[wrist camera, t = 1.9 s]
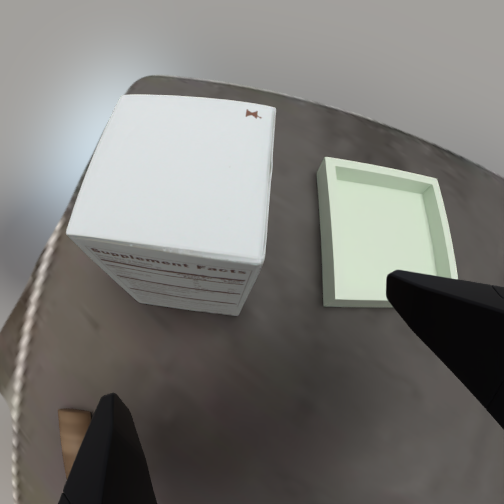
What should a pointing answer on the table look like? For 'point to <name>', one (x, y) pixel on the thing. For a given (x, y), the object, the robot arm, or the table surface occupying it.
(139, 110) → the supplement box
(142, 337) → the table surface
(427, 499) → the table surface
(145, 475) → the robot arm
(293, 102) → the table surface
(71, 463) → the walnut lock pin
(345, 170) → the dock tray
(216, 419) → the table surface
